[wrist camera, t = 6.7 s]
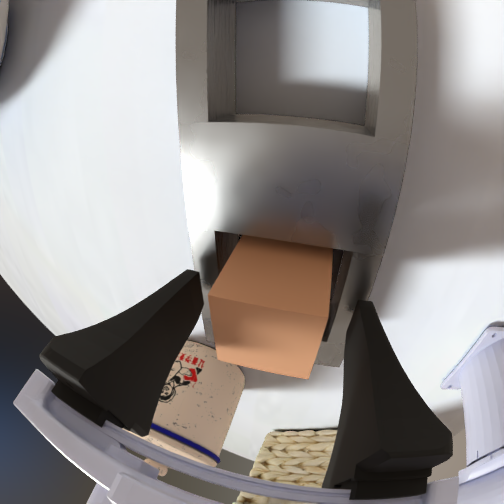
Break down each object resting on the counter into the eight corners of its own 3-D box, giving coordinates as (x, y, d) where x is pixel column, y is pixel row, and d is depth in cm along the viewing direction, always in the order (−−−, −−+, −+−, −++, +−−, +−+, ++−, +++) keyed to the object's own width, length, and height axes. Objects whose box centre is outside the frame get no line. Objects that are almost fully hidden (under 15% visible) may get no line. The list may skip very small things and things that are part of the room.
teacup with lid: (206, 328, 20) (138, 463, 11) (267, 388, 23) (230, 500, 14) (130, 343, 26) (76, 427, 17) (184, 390, 29) (145, 469, 20)
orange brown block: (333, 226, 13) (328, 317, 8) (321, 288, 15) (308, 379, 10) (254, 215, 14) (207, 294, 9) (253, 276, 16) (217, 359, 11)
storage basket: (396, 458, 32) (386, 529, 20) (314, 464, 40) (298, 527, 28) (378, 417, 23) (359, 540, 11) (253, 424, 31) (219, 519, 19)
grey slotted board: (211, -30, 7) (180, -51, 4) (392, -25, 5) (407, -51, 3) (223, 307, 18) (206, 340, 16) (341, 329, 16) (339, 367, 14)
